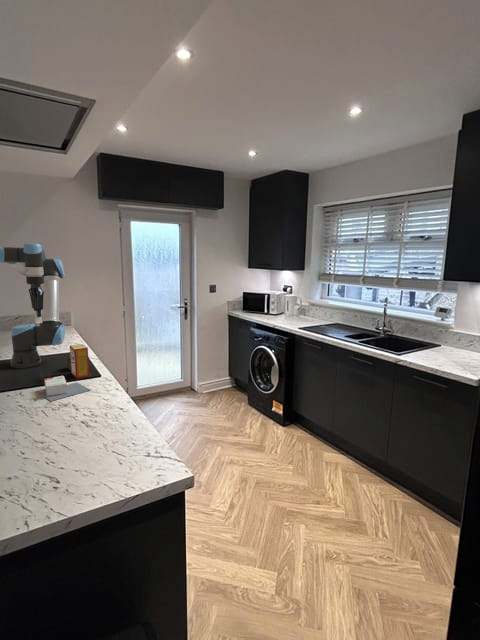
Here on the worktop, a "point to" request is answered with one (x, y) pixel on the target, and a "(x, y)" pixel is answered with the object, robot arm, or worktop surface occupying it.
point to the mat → (71, 390)
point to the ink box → (55, 385)
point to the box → (69, 363)
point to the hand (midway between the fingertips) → (38, 323)
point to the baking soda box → (79, 360)
